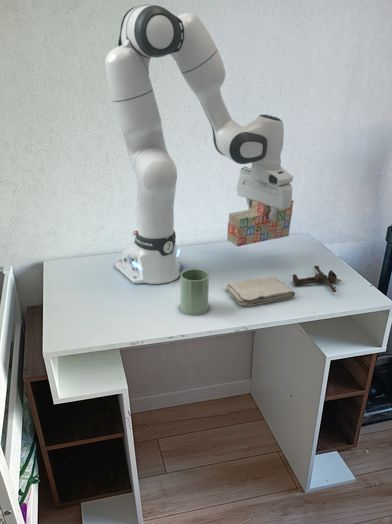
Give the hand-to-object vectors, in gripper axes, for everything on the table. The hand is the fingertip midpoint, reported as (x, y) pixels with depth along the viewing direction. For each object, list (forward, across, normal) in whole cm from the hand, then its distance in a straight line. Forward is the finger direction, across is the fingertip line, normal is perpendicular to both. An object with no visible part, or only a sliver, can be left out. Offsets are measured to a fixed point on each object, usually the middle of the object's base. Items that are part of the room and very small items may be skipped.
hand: (260, 215), depth 164 cm
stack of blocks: (+8, 0, 0) cm, 8 cm away
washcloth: (+16, +17, -18) cm, 30 cm away
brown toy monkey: (+15, +24, +1) cm, 29 cm away
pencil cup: (+16, +10, -38) cm, 43 cm away
